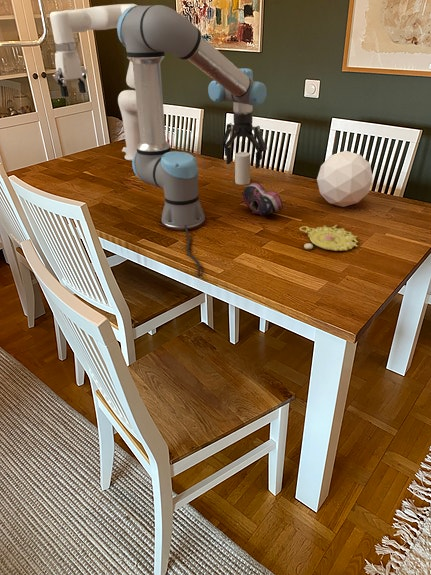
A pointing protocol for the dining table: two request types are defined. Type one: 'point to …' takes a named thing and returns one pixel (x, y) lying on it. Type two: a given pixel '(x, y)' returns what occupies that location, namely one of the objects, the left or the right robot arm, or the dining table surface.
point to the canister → (242, 168)
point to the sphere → (344, 178)
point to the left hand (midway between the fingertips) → (74, 94)
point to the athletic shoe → (261, 200)
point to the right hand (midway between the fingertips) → (243, 165)
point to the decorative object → (330, 238)
